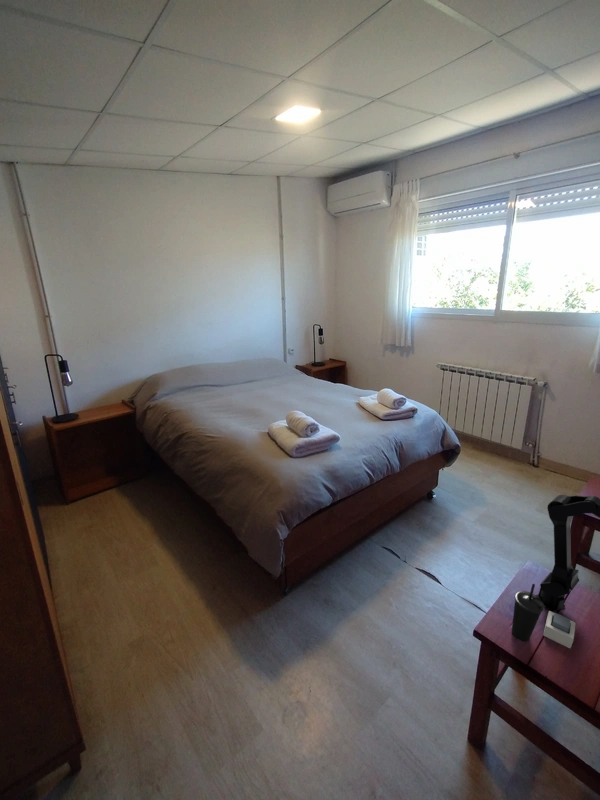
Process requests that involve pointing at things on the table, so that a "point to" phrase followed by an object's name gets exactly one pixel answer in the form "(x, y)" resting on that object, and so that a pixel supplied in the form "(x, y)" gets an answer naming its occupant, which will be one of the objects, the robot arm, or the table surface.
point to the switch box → (559, 632)
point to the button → (561, 622)
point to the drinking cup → (526, 614)
